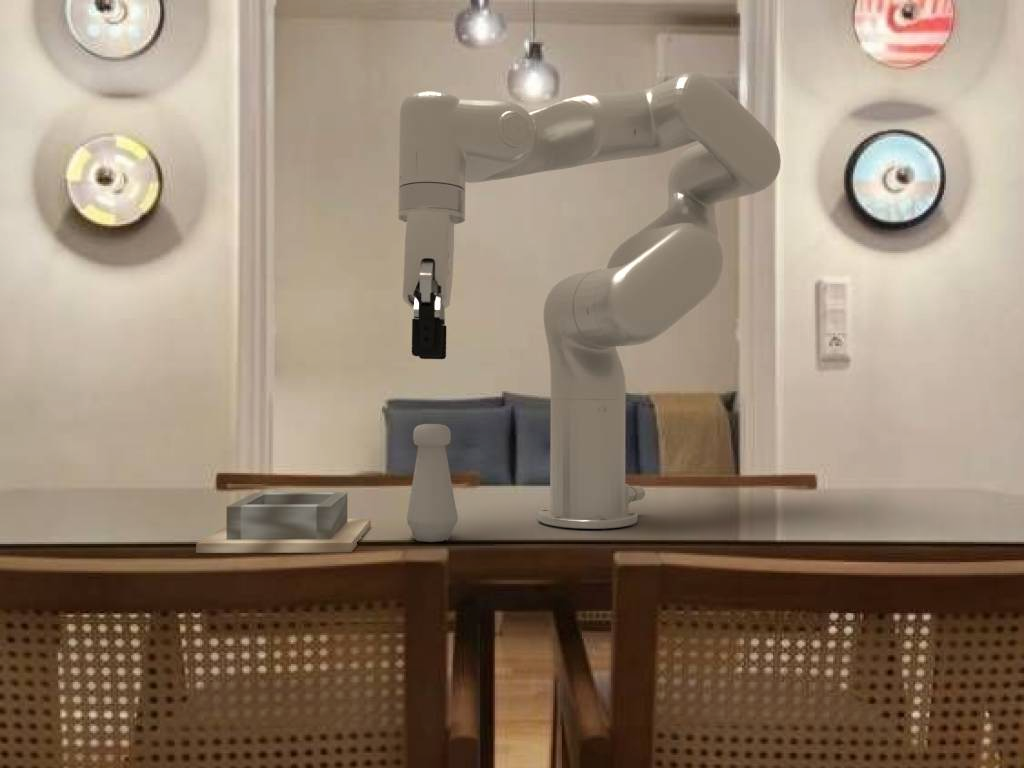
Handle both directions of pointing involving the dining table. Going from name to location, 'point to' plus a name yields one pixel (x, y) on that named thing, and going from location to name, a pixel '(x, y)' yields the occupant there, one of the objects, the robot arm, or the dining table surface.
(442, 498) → the salt shaker
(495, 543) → the dining table surface
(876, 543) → the dining table surface
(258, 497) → the holder
